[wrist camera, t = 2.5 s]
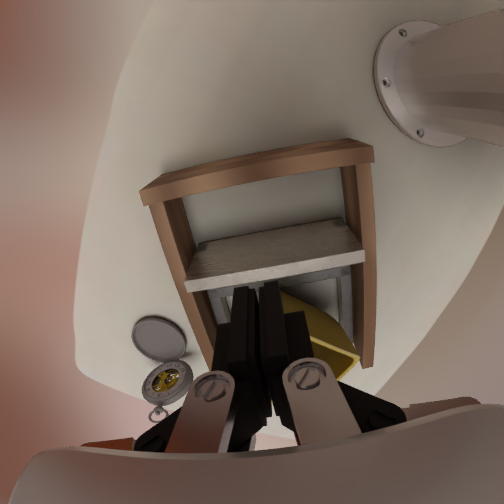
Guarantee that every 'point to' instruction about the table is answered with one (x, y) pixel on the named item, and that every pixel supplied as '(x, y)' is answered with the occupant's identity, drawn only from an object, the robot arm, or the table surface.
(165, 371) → the pocket watch
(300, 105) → the table surface
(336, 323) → the flower pot
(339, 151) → the frame
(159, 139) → the table surface
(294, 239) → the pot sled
